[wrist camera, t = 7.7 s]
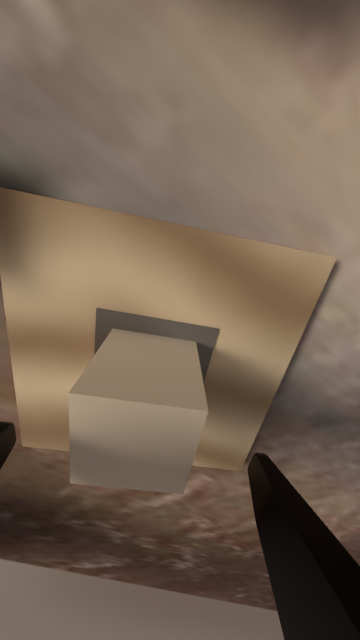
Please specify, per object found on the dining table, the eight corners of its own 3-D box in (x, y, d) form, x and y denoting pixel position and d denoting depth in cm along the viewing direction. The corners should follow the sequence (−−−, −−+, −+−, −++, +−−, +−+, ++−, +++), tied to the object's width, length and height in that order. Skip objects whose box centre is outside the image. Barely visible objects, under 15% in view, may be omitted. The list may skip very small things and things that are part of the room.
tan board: (237, 460, 17) (240, 472, 16) (29, 436, 16) (21, 447, 15) (326, 256, 11) (338, 258, 10) (3, 188, 10) (-14, 184, 9)
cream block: (181, 404, 13) (183, 494, 9) (107, 394, 13) (70, 483, 8) (195, 341, 12) (208, 411, 7) (112, 328, 11) (68, 392, 7)
